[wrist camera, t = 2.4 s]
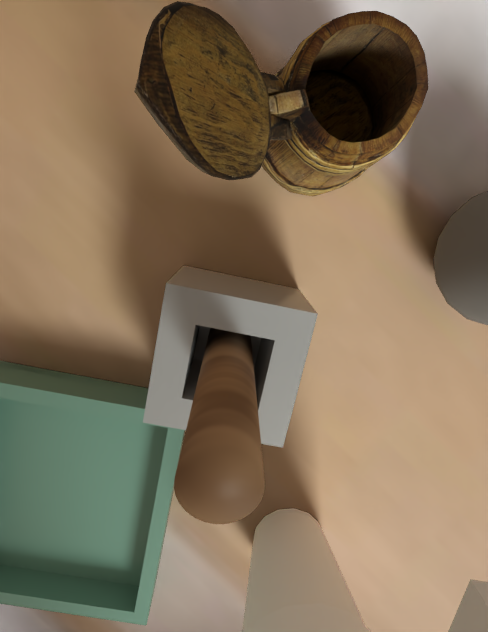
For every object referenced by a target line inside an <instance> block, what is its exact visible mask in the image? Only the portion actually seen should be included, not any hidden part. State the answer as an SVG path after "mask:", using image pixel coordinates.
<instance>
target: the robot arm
mask: <svg viewBox="0 0 488 632" xmlns="http://www.w3.org/2000/svg"><path fill="white" fill-rule="evenodd" d="M448 632H488V582H483V581H477V580H470V582H469V584H468V587H467V589H466V591H465V594H464V596H463V598H462V601H461V603H460V605H459V608H458V610H457V613H456V615H455V617H454V620H453V622H452V624H451V627H450V629H449V631H448Z"/></svg>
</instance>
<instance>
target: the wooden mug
mask: <svg viewBox="0 0 488 632" xmlns="http://www.w3.org/2000/svg"><path fill="white" fill-rule="evenodd" d="M427 90H428V75H427V66H426V60H425V54H424V51H423V48H422V46H421V44H420V42H419V40H418V38H417V36H416V35H415V34H414V32H413V31H412V30H411V29H410V28H409V27H408V26H407V25H406V24H404V23H403V22H401V21H399V20H398V19H396V18H394V17H392V16H390V15H387V14H384V13H381V12H378V11H362V12H356V13H350V14H347V15H344V16H341V17H339V18H336V19H333V20H332V21H330V22H328V23H326V24H324V25H322V26H321V27H320V28H318V29H317V30H316V31H315V32H313V33H312V34H311V35H310V36H308V37H307V38H306V39H305V40H304V41H302V42H301V43H300V45H299V46H298V48H297V49H296V51H295V52H294V54H293V56H292V57H291V59H290V60H289V62H288V63H287V65H286V66H285V67H284V68H283V69H282V70H280V71H279V72H278V73H277V74H276V75H271V74H266V73H262V72H260V71H259V69H258V67H257V65H256V63H255V61H254V59H253V57H252V55H251V53H250V51H249V50H248V49H247V47H246V46H245V44H244V43H243V41H242V40H241V38H240V37H239V35H238V34H237V32H236V31H235V29H234V28H233V27H232V26H231V25H230V24H229V23H228V22H227V21H226V20H224V19H223V18H222V17H221V16H220V15H219V14H217V13H215V12H213V11H211V10H210V9H208V8H205V7H200V6H197V5H194V4H191V3H186V2H178V1H177V2H175V3H172V4H170V5H168V6H166V7H164V8H163V9H162V10H161V11H160V13H159V14H158V15H157V16H156V18H155V19H154V20H153V22H152V24H151V27H150V29H149V32H148V34H147V37H146V41H145V46H144V50H143V55H142V59H141V64H140V70H139V76H138V80H137V84H136V88H135V91H134V92H135V93H136V94H137V96H138V97H139V99H140V100H141V101H142V103H143V104H144V106H145V107H146V108H147V110H148V111H149V113H150V114H151V116H152V117H153V118H154V120H155V121H156V123H157V124H158V125H159V126H160V128H161V129H162V130H163V131H164V132H165V134H166V135H167V136H168V137H169V139H170V140H171V141H172V142H173V143H174V145H175V146H176V147H177V148H178V149H179V151H180V152H181V153H182V154H183V155H184V157H185V158H186V159H187V160H188V161H189V162H191V163H192V164H193V165H194V166H196V167H197V168H198V169H200V170H201V171H202V172H205V173H207V174H209V175H211V176H214V177H218V178H222V179H226V180H236V179H244V178H250V177H252V176H253V175H254V174H255V173H256V172H257V171H258V170H259V169H260V168H261V165H262V167H263V168H264V170H265V171H266V172H267V173H268V174H269V175H270V176H271V177H272V178H273V179H274V180H275V181H276V182H277V183H278V184H280V185H281V186H282V187H284V188H285V189H286V190H288V191H289V192H293V193H298V194H303V195H308V196H316V195H319V194H323V193H326V192H329V191H332V190H335V189H337V188H340V187H342V186H344V185H346V184H347V183H349V182H351V181H352V180H354V179H356V178H357V177H359V176H360V175H361V174H362V173H363V172H364V171H365V170H366V169H367V168H368V167H370V166H371V165H373V164H374V163H376V162H377V161H379V160H380V159H382V158H383V157H385V156H386V155H388V154H389V153H390V152H391V151H393V150H394V149H395V148H396V147H397V146H398V145H399V144H400V142H401V141H402V140H403V139H404V138H405V137H406V135H407V133H408V131H409V129H410V127H411V126H412V124H413V122H414V120H415V118H416V116H417V114H418V112H419V110H420V109H421V107H422V104H423V101H424V98H425V95H426V93H427Z"/></svg>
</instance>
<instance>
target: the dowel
mask: <svg viewBox="0 0 488 632" xmlns="http://www.w3.org/2000/svg"><path fill="white" fill-rule="evenodd" d="M174 489H175V494H176V497H177V499H178V501H179V503H180V504H181V506H182V507H183V508H184V509H185V511H186V512H188V513H189V514H190V515H192V516H193V517H195V518H197V519H199V520H201V521H204V522H207V523H213V524H227V523H232V522H236V521H238V520H241V519H243V518H245V517H246V516H248V515H249V514H251V513H252V512H253V511H254V510H255V509H256V508H257V506H258V505H259V503H260V502H261V500H262V498H263V495H264V490H265V478H264V467H263V457H262V447H261V437H260V427H259V416H258V406H257V396H256V386H255V375H254V365H253V355H252V345H251V336H250V335H245V334H240V333H235V332H230V331H225V330H220V329H215V328H210V331H209V335H208V340H207V344H206V348H205V352H204V356H203V361H202V365H201V369H200V373H199V377H198V382H197V386H196V390H195V394H194V399H193V403H192V407H191V411H190V415H189V420H188V424H187V428H186V432H185V436H184V441H183V445H182V449H181V453H180V457H179V462H178V466H177V470H176V474H175V479H174Z"/></svg>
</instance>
